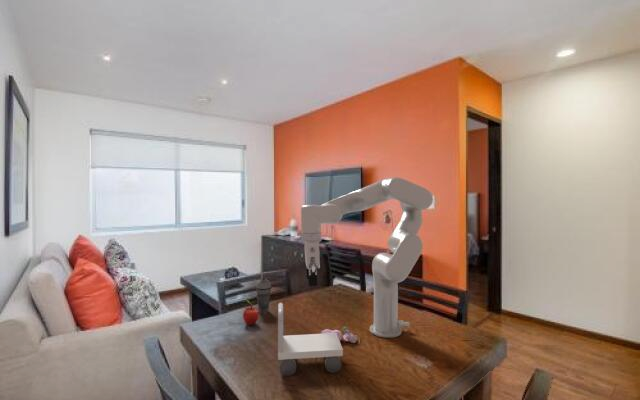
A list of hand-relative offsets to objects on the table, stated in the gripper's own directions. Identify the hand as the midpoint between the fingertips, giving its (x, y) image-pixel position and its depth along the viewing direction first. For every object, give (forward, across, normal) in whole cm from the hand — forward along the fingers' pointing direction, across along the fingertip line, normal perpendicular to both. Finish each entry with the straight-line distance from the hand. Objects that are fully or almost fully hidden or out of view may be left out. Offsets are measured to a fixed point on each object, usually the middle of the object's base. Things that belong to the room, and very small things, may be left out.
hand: (311, 282), depth 120 cm
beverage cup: (+22, +31, +20) cm, 43 cm away
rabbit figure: (+22, -2, -10) cm, 25 cm away
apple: (+22, +17, +25) cm, 37 cm away
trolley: (+22, -18, +3) cm, 28 cm away
